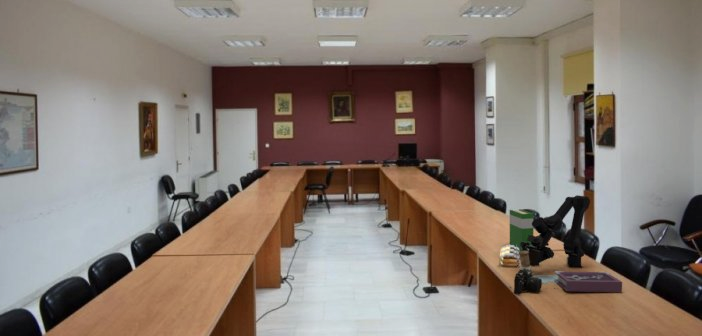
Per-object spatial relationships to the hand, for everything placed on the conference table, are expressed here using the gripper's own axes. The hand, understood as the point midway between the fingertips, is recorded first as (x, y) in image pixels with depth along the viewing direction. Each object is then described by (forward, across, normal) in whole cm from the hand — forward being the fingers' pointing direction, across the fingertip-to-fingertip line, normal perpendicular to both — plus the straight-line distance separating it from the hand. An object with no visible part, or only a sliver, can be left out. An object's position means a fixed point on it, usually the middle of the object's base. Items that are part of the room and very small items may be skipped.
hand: (528, 262), depth 263 cm
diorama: (-3, -25, +14) cm, 29 cm away
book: (-1, +28, +12) cm, 30 cm away
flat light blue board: (+4, +10, +7) cm, 13 cm away
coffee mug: (-8, -15, +19) cm, 25 cm away
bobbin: (+5, -1, +5) cm, 7 cm away
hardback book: (-25, -45, +35) cm, 62 cm away
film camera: (+18, +16, -6) cm, 24 cm away
